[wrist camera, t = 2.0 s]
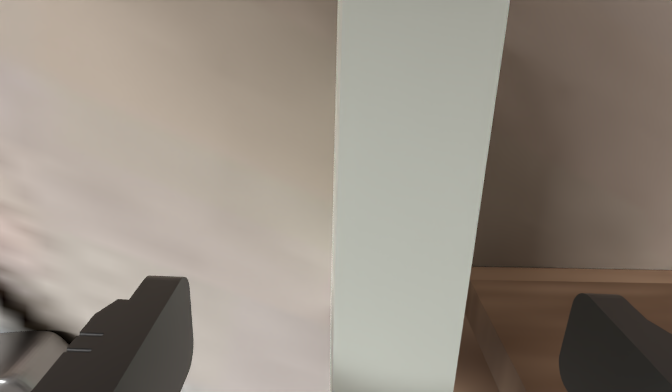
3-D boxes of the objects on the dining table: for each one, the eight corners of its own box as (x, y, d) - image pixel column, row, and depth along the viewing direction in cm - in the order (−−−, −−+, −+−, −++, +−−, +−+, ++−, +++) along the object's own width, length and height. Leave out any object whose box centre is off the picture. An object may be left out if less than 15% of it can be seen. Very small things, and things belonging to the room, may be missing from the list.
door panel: (338, -10, 15) (343, -38, 7) (424, -8, 15) (535, -33, 7) (330, 305, 20) (328, 524, 11) (397, 306, 20) (446, 525, 11)
